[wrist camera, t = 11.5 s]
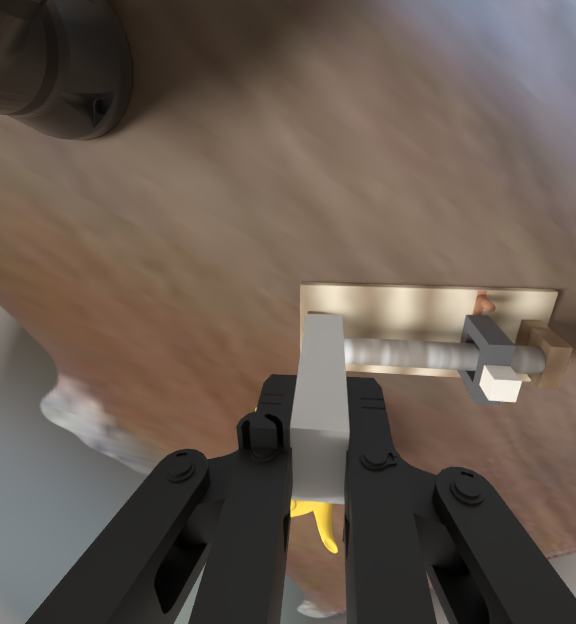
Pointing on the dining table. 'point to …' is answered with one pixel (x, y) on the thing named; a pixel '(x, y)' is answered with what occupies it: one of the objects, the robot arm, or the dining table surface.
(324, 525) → the teapot
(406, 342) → the pipe rig
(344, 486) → the robot arm
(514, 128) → the dining table surface
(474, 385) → the grey sliding frame
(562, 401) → the dining table surface
